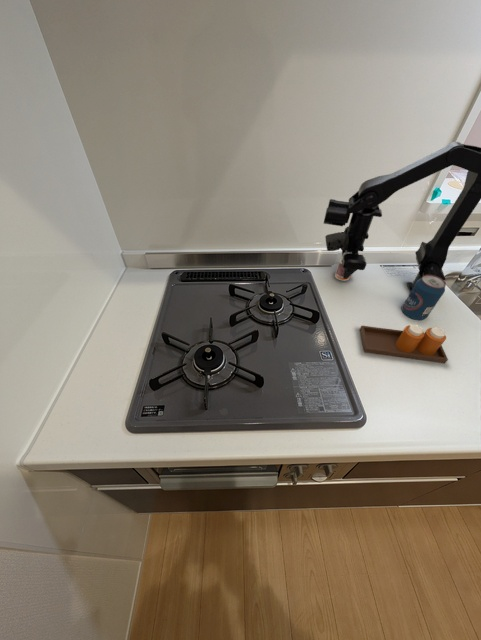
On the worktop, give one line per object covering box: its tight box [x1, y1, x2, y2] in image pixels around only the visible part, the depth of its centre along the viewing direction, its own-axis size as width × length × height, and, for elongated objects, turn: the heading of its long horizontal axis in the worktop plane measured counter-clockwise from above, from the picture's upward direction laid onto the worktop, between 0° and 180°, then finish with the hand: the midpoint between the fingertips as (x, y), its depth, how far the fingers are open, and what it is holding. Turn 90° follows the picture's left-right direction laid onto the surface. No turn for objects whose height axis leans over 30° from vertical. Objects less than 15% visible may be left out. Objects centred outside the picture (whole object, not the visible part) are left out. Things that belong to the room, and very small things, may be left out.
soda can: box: [401, 275, 447, 321], centre depth 77 cm, size 7×7×12 cm
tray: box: [359, 325, 449, 364], centre depth 71 cm, size 8×19×2 cm, turn 80°
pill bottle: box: [334, 252, 351, 282], centre depth 91 cm, size 5×5×8 cm
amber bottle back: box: [416, 326, 447, 355], centre depth 69 cm, size 4×4×6 cm
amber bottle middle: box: [396, 324, 425, 353], centre depth 69 cm, size 4×4×6 cm
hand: (343, 272), depth 92 cm, fingers open, 7 cm apart
